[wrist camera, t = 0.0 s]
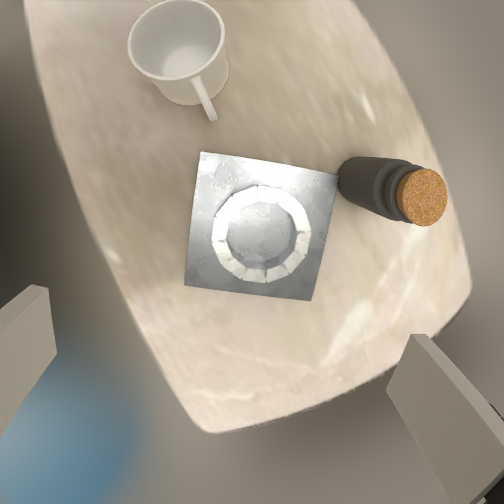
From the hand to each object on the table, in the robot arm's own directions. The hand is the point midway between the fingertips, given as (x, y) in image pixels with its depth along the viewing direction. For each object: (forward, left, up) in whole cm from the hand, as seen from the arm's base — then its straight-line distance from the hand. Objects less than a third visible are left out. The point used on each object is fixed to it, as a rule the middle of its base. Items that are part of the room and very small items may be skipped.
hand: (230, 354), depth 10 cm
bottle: (-6, +15, -28) cm, 32 cm away
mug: (-14, -6, -28) cm, 32 cm away
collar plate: (+2, +4, -28) cm, 28 cm away
